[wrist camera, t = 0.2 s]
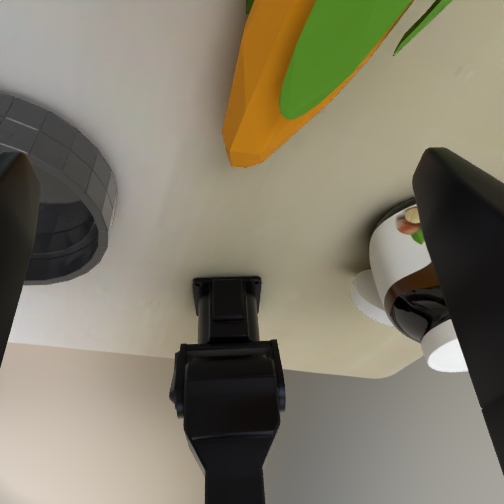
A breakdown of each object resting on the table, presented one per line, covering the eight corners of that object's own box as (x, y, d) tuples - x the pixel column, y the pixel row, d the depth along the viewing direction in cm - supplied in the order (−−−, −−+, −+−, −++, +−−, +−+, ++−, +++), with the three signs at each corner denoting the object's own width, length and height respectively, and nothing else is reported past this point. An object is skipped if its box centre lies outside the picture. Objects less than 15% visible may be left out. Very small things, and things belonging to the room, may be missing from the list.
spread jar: (494, 173, 30) (586, 309, 22) (470, 260, 38) (532, 378, 31) (334, 211, 32) (371, 347, 24) (345, 286, 40) (376, 402, 33)
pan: (133, 236, 32) (126, 282, 30) (-34, 240, 31) (-58, 288, 29) (89, 84, 22) (71, 131, 19) (-160, 83, 21) (-216, 133, 19)
